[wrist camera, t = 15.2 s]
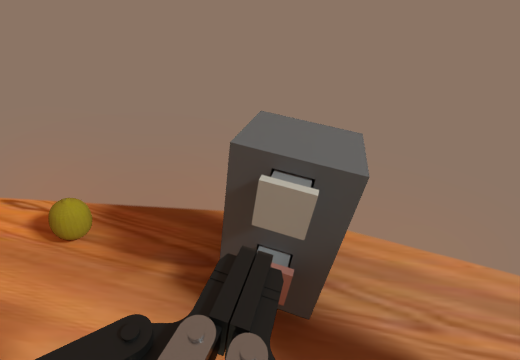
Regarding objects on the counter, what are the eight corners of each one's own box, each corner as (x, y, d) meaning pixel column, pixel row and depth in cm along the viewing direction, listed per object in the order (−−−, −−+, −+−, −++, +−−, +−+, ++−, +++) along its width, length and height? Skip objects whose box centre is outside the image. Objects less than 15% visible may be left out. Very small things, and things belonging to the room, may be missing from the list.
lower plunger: (283, 305, 32) (292, 276, 29) (240, 291, 33) (245, 261, 30) (295, 252, 40) (303, 225, 37) (259, 241, 41) (265, 214, 38)
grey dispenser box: (309, 319, 38) (369, 177, 25) (217, 288, 40) (230, 142, 27) (316, 258, 48) (362, 133, 35) (242, 235, 50) (261, 110, 37)
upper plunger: (304, 240, 27) (318, 195, 24) (251, 224, 27) (258, 179, 24) (313, 192, 34) (324, 154, 31) (271, 181, 35) (279, 143, 32)
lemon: (51, 236, 44) (36, 197, 40) (88, 221, 48) (78, 184, 43) (64, 256, 41) (49, 216, 37) (102, 239, 45) (93, 201, 41)
